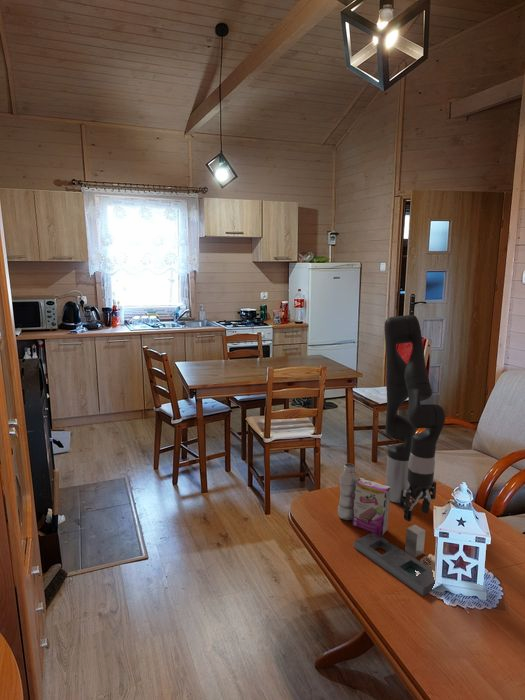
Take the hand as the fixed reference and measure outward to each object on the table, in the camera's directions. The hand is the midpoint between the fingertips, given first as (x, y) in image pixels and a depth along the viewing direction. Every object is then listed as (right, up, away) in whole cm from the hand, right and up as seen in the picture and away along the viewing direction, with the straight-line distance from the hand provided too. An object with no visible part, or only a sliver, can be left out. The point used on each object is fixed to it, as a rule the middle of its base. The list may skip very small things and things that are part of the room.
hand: (416, 516), depth 144 cm
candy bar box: (-11, -10, +15) cm, 21 cm away
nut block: (0, -12, +2) cm, 13 cm away
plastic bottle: (-18, -8, +21) cm, 29 cm away
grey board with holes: (-8, -13, -4) cm, 16 cm away
